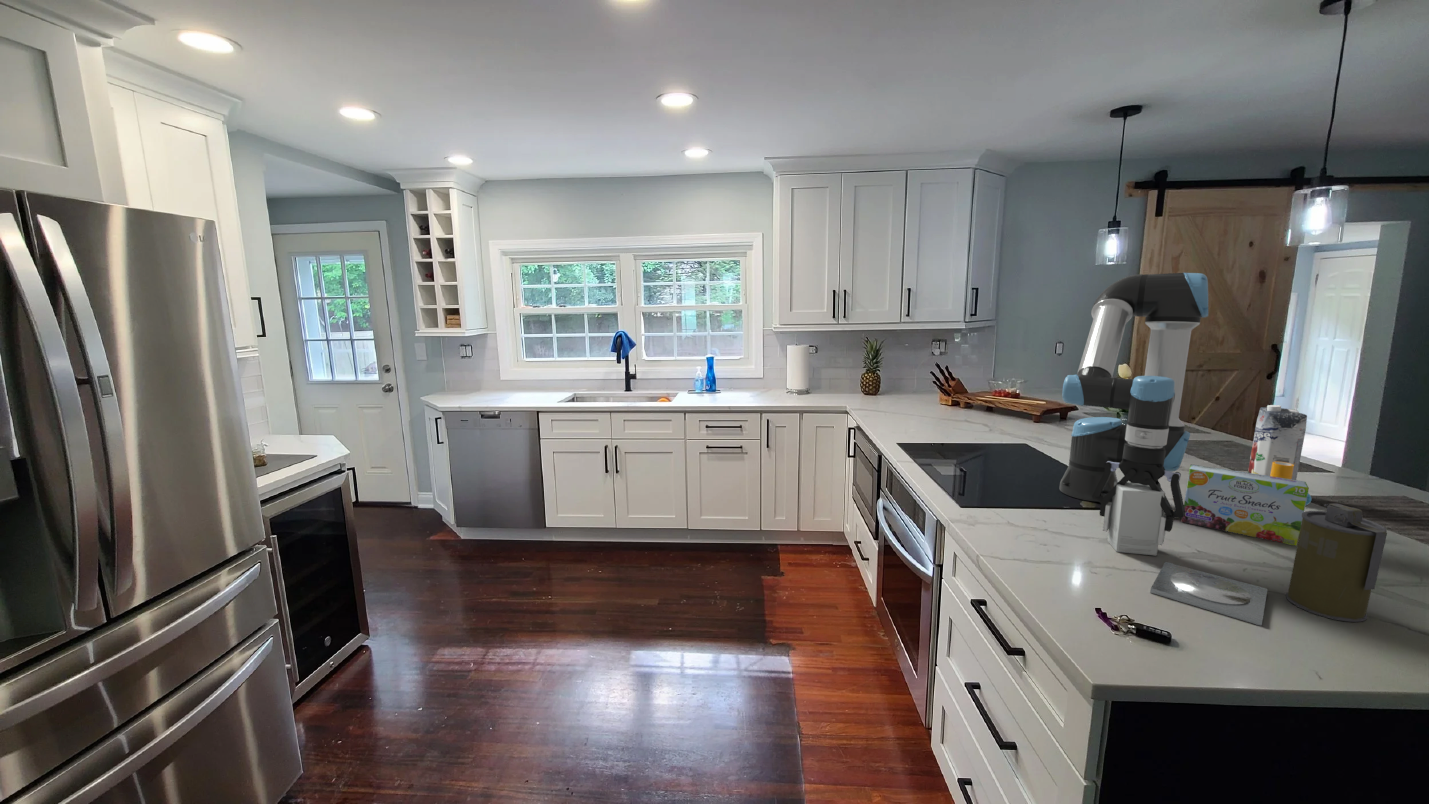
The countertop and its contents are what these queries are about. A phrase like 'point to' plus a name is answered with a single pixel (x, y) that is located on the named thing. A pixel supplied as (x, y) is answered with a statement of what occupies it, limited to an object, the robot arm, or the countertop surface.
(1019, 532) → the countertop surface
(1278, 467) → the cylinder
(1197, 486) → the snack box
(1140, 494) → the skincare box
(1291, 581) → the canister
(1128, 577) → the countertop surface
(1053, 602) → the countertop surface
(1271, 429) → the juice carton
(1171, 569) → the flange plate
